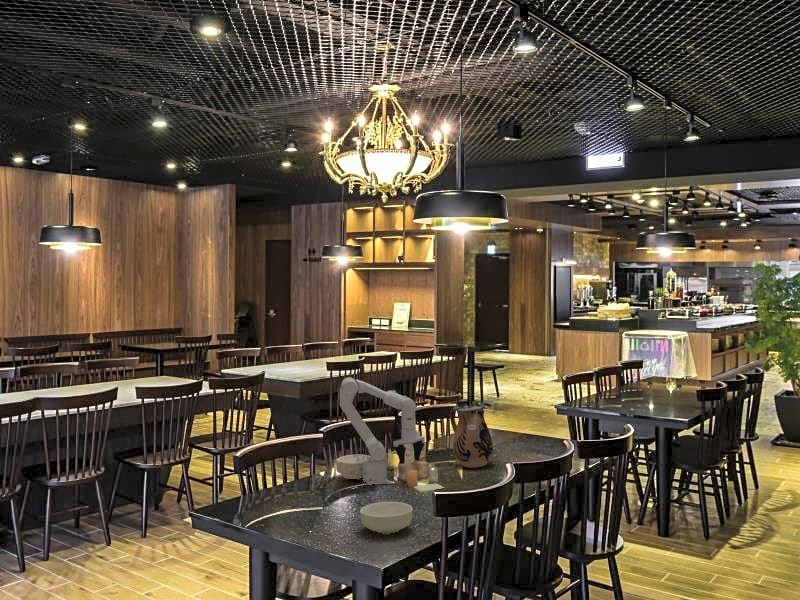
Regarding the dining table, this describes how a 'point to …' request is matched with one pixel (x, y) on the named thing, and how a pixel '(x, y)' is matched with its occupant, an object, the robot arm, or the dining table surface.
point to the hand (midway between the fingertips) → (409, 461)
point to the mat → (428, 487)
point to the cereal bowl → (386, 516)
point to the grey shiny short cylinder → (432, 475)
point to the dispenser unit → (419, 466)
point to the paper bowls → (351, 466)
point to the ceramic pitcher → (471, 437)
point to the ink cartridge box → (410, 452)
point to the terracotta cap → (412, 478)
